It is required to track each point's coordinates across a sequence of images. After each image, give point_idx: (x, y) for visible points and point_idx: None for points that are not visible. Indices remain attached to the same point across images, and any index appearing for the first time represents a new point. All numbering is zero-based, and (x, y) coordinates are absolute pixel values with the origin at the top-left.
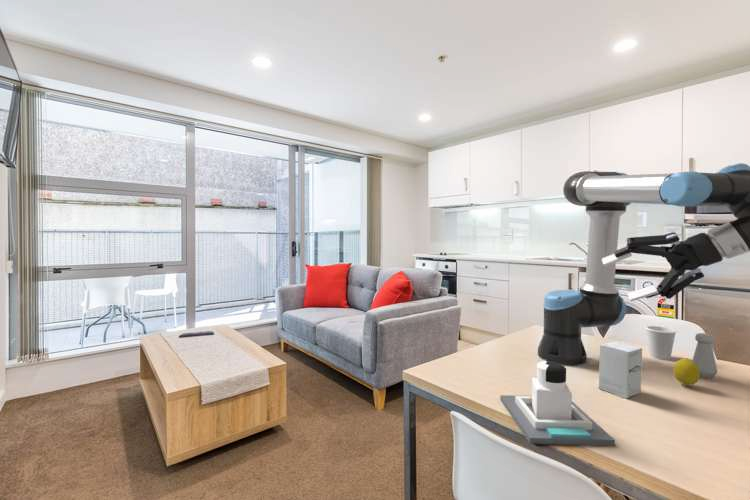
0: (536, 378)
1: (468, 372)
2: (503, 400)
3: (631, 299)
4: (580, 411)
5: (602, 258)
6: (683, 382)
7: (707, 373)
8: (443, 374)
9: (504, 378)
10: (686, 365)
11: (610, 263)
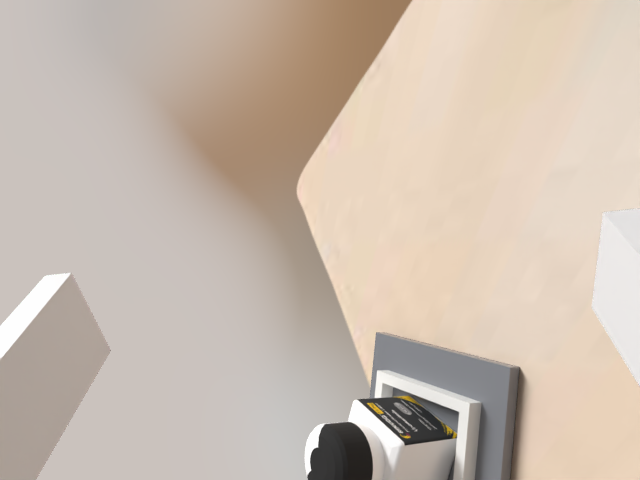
0: (353, 414)
1: (376, 174)
2: (375, 355)
3: (603, 316)
4: (495, 459)
5: (41, 281)
6: None
7: None
8: (335, 193)
9: (433, 206)
10: None
11: (78, 391)
